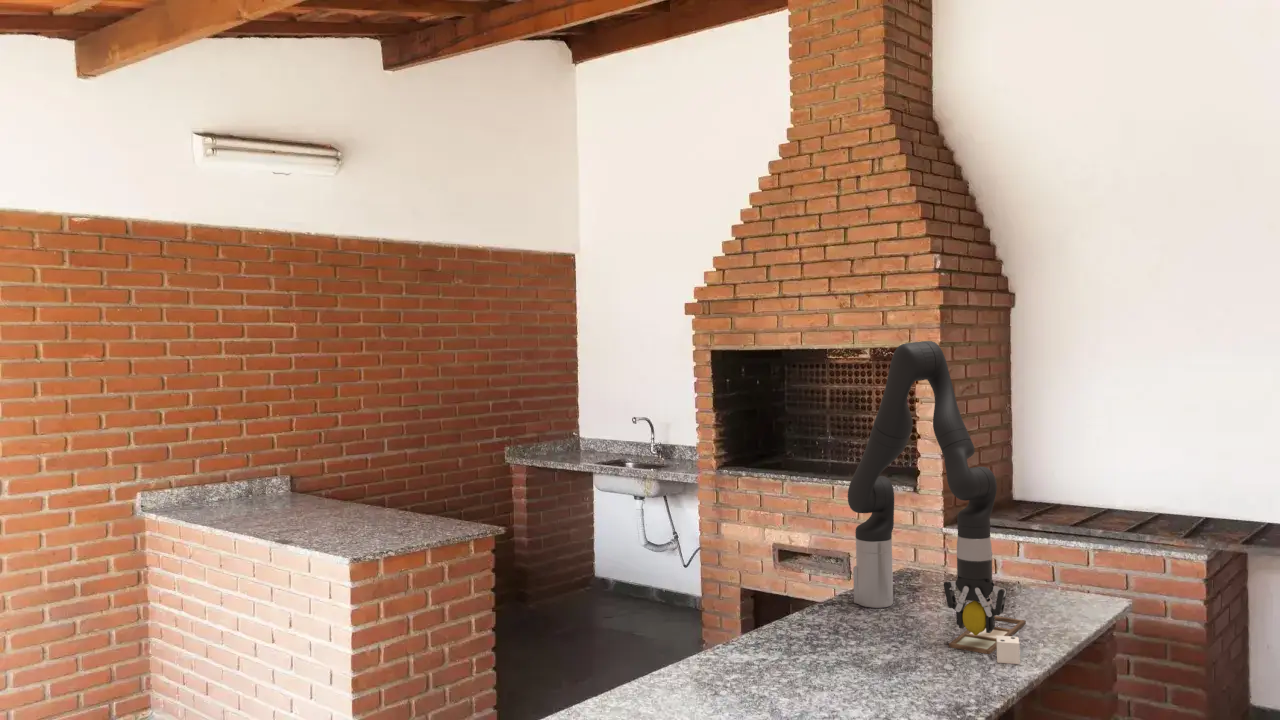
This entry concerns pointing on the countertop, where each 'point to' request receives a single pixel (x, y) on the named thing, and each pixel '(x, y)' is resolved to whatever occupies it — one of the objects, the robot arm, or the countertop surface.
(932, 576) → the countertop surface
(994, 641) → the board
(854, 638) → the countertop surface
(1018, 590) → the countertop surface
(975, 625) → the lemon
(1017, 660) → the die
